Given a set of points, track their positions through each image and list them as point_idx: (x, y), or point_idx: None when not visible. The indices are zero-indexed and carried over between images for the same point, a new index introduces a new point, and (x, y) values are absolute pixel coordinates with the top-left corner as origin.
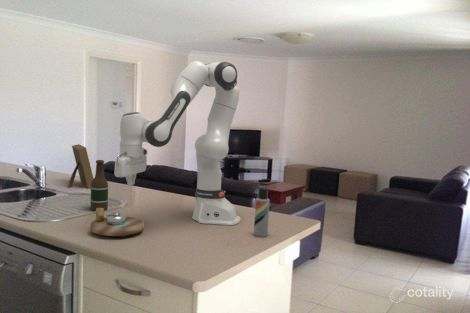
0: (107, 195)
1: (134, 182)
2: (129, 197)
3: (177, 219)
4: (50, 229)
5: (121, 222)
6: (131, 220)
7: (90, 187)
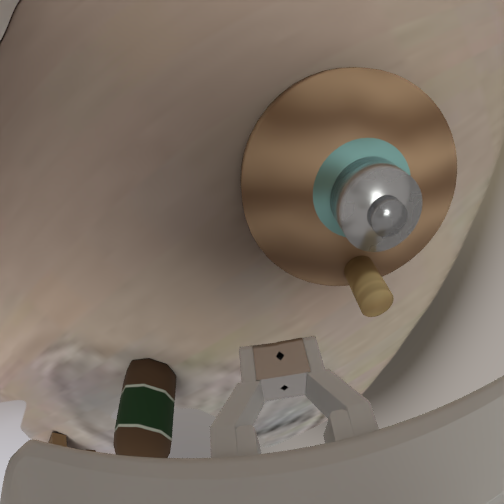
0: (125, 401)
1: (242, 360)
2: (17, 370)
3: (30, 86)
4: (384, 335)
5: (391, 163)
6: (294, 163)
7: (61, 435)
